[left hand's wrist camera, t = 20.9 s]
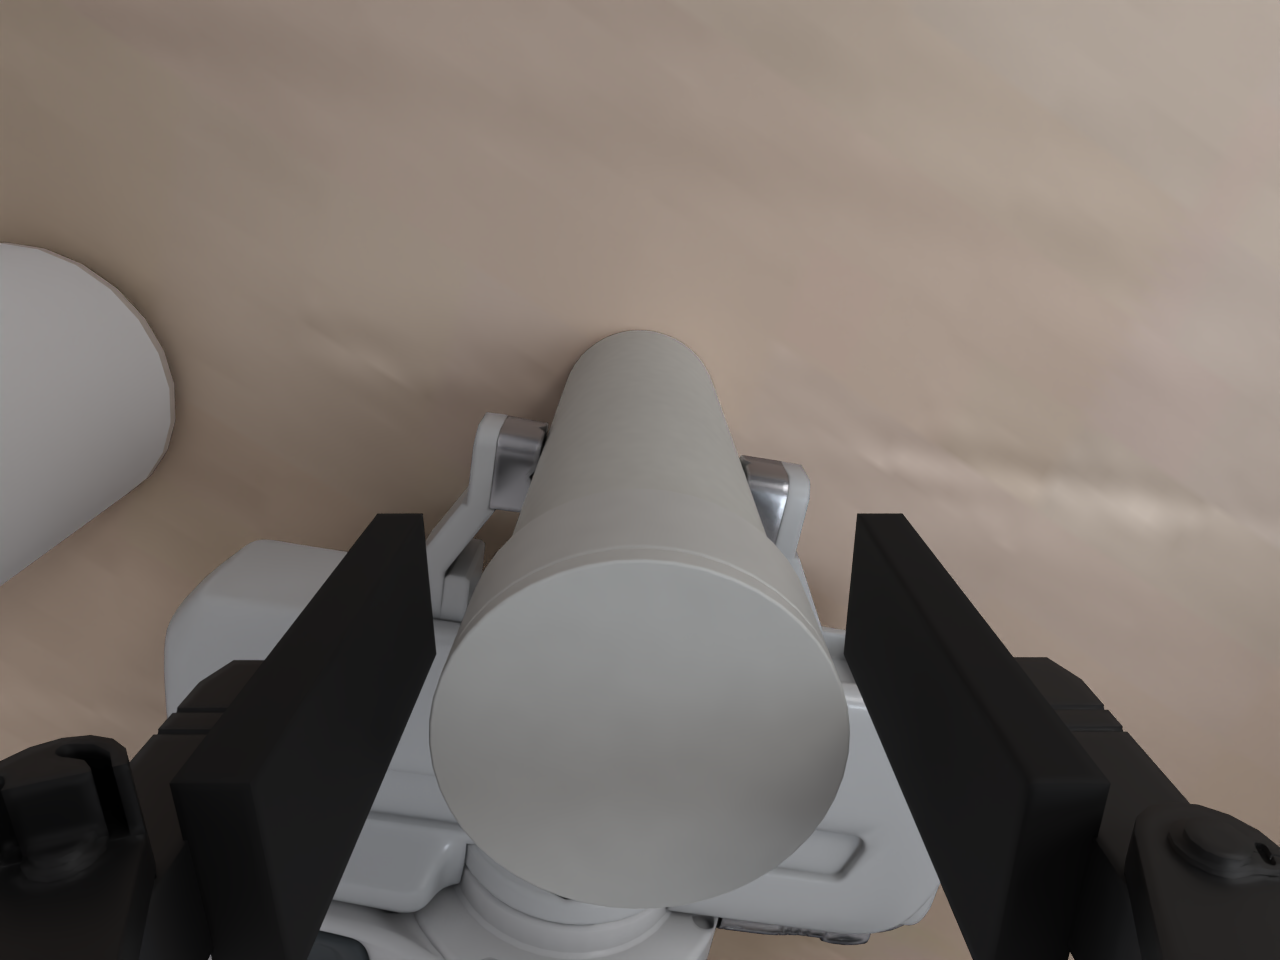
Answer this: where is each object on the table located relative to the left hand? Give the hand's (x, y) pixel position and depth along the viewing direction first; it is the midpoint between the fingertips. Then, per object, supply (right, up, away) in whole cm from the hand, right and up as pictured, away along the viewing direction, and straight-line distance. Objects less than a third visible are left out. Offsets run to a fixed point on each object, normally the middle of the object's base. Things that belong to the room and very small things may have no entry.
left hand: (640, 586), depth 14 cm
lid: (0, -1, -4) cm, 4 cm away
